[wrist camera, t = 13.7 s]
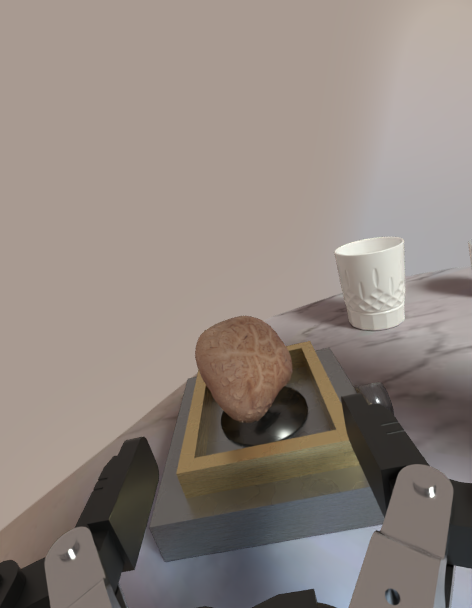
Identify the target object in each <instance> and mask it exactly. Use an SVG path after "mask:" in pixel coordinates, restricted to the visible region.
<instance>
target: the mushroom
mask: <svg viewBox="0 0 472 608" xmlns="http://www.w3.org/2000/svg"><path fill="white" fill-rule="evenodd" d="M195 358H196V362H197V366H198V369H199V372H200V374H201V377H202V379H203V381H204V382H205V384H206V386H207V387H208V389H209V390H210V391H211V393H212V396H213V398H214V399H215V401H216V402H217V403H218V405H219V406H220V407H221V408H222V409H223V410H224V412H225V413H226V414H227V415H229V416H230V417H231V418H232V419H234V420H236V421H239V422H242V423H252V422H255V421H258V420H259V419H261V418H262V417H263V416H264V415H265V413H266V412H267V411H268V410H269V408H270V407H271V405H272V403H273V402H274V400H275V398H276V396H277V395H278V393H279V391H280V390H281V389H282V388H283V387H284V386H287V383H288V382H289V381H290V379H291V374H292V373H293V371H292V360H291V356H290V353H289V351H288V349H287V348H286V346H285V345H284V343H283V342H282V341H281V339H280V338H279V336H278V335H277V333H276V332H275V331H274V330H273V329H272V328H271V326H269V325H268V324H266V323H265V322H263V321H262V320H260V319H258V318H254V317H250V316H239V317H235V318H231V319H228V320H225V321H222V322H220V323H218V324H215V325H214V326H212V327H210V328H209V329H207V330H205V331H204V332H203V333H202V334H201V335H200V337H199V339H198V342H197V345H196V351H195Z"/></svg>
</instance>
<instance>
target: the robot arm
mask: <svg viewBox="0 0 472 608" xmlns="http://www.w3.org/2000/svg"><path fill="white" fill-rule="evenodd" d="M341 403H342V409H343V414H344V420H345V426H346V431H347V435H348V438H349V441H350V444H351V446H352V448H353V450H354V453H355V455H356V457H357V459H358V461H359V464H360V466H361V468H362V470H363V472H364V475H365V477H366V479H367V481H368V483H369V486H370V488H371V490H372V492H373V494H374V496H375V499H376V501H377V503H378V505H379V507H380V510H381V512H382V514H383V516H384V518H385V519H384V522H383V526H382V528H381V530H380V532H379V531H377V530H376V531H375V532H374V533H373V535H372V537H371V540H370V543H369V546H368V549H367V552H366V555H365V558H364V561H363V565H362V568H361V571H360V574H359V577H358V580H357V583H356V586H355V589H354V592H353V595H352V599H351V602H350V605H349V608H451V604H452V595H453V586H454V577H455V568H456V566H461V567H466V568H472V483H463V482H458V481H454V480H451V479H448V478H447V477H446V476H445V475H444V474H443V473H442V472H440V471H439V470H437V469H435V468H433V467H430V466H429V464H428V463H427V462H426V460H425V459H424V457H423V456H422V455H421V453H420V452H419V450H418V449H417V448H416V446H415V445H414V443H413V442H412V441H411V439H410V438H409V436H408V435H407V433H406V432H404V429H403V428H402V426H401V425H400V424H399V423H398V421H397V419H396V418H395V417H394V415H393V414H392V412H391V411H390V410H388V409H387V408H385V407H384V406H382V405H381V404H379V403H376V404H372V405H368V403H367V402H366V400H365V399H364V397H363V395H362V394H361V393H355V394H351V395H346V396H341ZM158 481H159V470H158V465H157V463H156V460H155V458H154V456H153V453H152V451H151V448H150V446H149V444H148V441H147V439H146V438H145V437H140V438H135V439H130V440H126V441H125V442H124V443H123V445H122V447H121V450H120V452H119V454H118V456H114V457H113V458H112V459H111V460H110V461H109V462H108V463H107V465H106V466H105V467H104V469H103V471H102V473H101V475H100V477H99V479H98V482H97V483H96V485H95V487H94V491H93V492H92V493H91V495H90V497H89V500H88V502H87V504H86V506H85V508H84V510H83V512H82V514H81V516H80V518H79V520H78V522H77V524H76V526H75V528H74V529H71V530H69V531H68V532H66V533H65V534H63V535H62V536H61V537H60V538H59V539H58V540H57V541H56V542H55V543H54V544H53V545H52V547H51V548H50V550H49V551H48V553H47V555H46V557H45V558H43V559H41V560H39V561H36V562H34V563H32V564H30V565H28V566H26V567H24V568H22V569H20V567H19V566H18V564H17V563H16V562H15V561H13V560H7V561H3V562H1V563H0V608H128V605H127V602H126V600H125V597H124V594H123V592H122V589H121V587H120V585H119V583H118V582H119V579H120V576H121V572H125V571H131V570H135V566H136V563H137V559H138V555H139V551H140V548H141V544H142V540H143V537H144V533H145V529H146V526H147V522H148V518H149V514H150V511H151V507H152V503H153V500H154V496H155V492H156V489H157V485H158ZM198 608H212V607H206V606H204V607H198ZM252 608H336V607H334V606H330V605H327V604H323V603H318V602H317V599H316V595H315V591H314V589H310V590H303V591H297V592H291V593H285V594H279V595H276V596H274V597H272V598H270V599H268V600H266V601H264V602H262V603H260V604H258V605H256V606H254V607H252Z"/></svg>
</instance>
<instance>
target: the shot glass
mask: <svg viewBox="0 0 472 608" xmlns="http://www.w3.org/2000/svg"><path fill="white" fill-rule="evenodd" d="M468 244H469V252H470V260H471V268H472V239H471V240H470V241H469V242H468Z"/></svg>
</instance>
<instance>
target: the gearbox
mask: <svg viewBox="0 0 472 608" xmlns="http://www.w3.org/2000/svg"><path fill="white" fill-rule="evenodd" d="M286 348H287V349H288V351H289V353H290V356H291V360H292V371H293V373H292V374H291V379H290V381H289V382H288V383H287V386H284V387H283V388H282V389H281V390H280V391H279V393H278V395H277V396H276V398H275V400H274V402H273V403H272V405H271V407H270V408H269V410H268V411H267V412H266V413H265V415H264V416H263V417H262V418H261V419H259V420H258V421H255V422H252V423H242V422H239V421H236V420H234V419H232V418H231V417H230V416H229V415H227V414H226V413H225V412H224V410H223V409H222V408H221V407H220V406H219V405H218V403H217V402H216V401H215V399H214V398H213V396H212V393H211V391H210V390H209V389H208V387H207V386H206V384H205V382H204V381H203V379H202V377H201V374H200V372H199V370H198V374H197V377H194V378H190V379H188V380H187V384H186V388H185V392H184V395H183V399H182V403H181V407H180V411H179V415H178V419H177V422H176V426H175V430H174V434H173V438H172V442H171V445H170V449H169V453H168V457H167V461H166V465H165V469H164V472H163V476H162V480H161V484H160V488H159V492H158V495H157V499H156V503H155V507H154V511H153V515H152V519H151V522H150V526H149V528H150V530H151V533H152V535H153V537H154V539H155V541H156V543H157V545H158V548H159V550H160V552H161V554H162V556H163V558H164V561H165V562H168V561H173V560H179V559H185V558H190V557H196V556H202V555H208V554H213V553H219V552H225V551H231V550H236V549H242V548H248V547H253V546H259V545H265V544H271V543H276V542H282V541H288V540H294V539H299V538H305V537H311V536H317V535H322V534H328V533H334V532H339V531H345V530H351V529H357V528H362V527H368V526H374V525H380V524H383V522H384V519H385V518H384V516H383V514H382V512H381V510H380V507H379V505H378V503H377V501H376V499H375V496H374V494H373V492H372V490H371V488H370V486H369V483H368V481H367V479H366V477H365V475H364V472H363V470H362V468H361V466H360V464H359V461H358V459H357V457H356V455H355V453H354V450H353V448H352V446H351V444H350V441H349V438H348V435H347V431H346V426H345V420H344V414H343V409H342V403H341V396H346V395H351V394H355V393H361V394H362V395H363V397H364V399H365V400H366V402H367V403H368V405H372V404H376V403H379V404H381V405H382V406H384V407H385V408H387V409H388V410H390V411H391V412H392V414H393V415H394V412H393V407H392V403H391V400H390V398H389V395H388V393H387V391H386V389H385V387H384V386H383V385H382V384H381V383H380V382H377V383H372V384H367V385H362V386H357V387H353V385H352V384H351V382H350V380H349V379H348V377H347V375H346V374H345V372H344V371H343V369H342V367H341V366H340V364H339V362H338V361H337V359H336V357H335V356H334V354H333V352H332V351H331V349H330V348H326V349H321V350H317V351H315V350H314V348H313V346H312V344H311V342H310V341H308V342H303V343H299V344H294V345H290V346H286Z"/></svg>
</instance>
